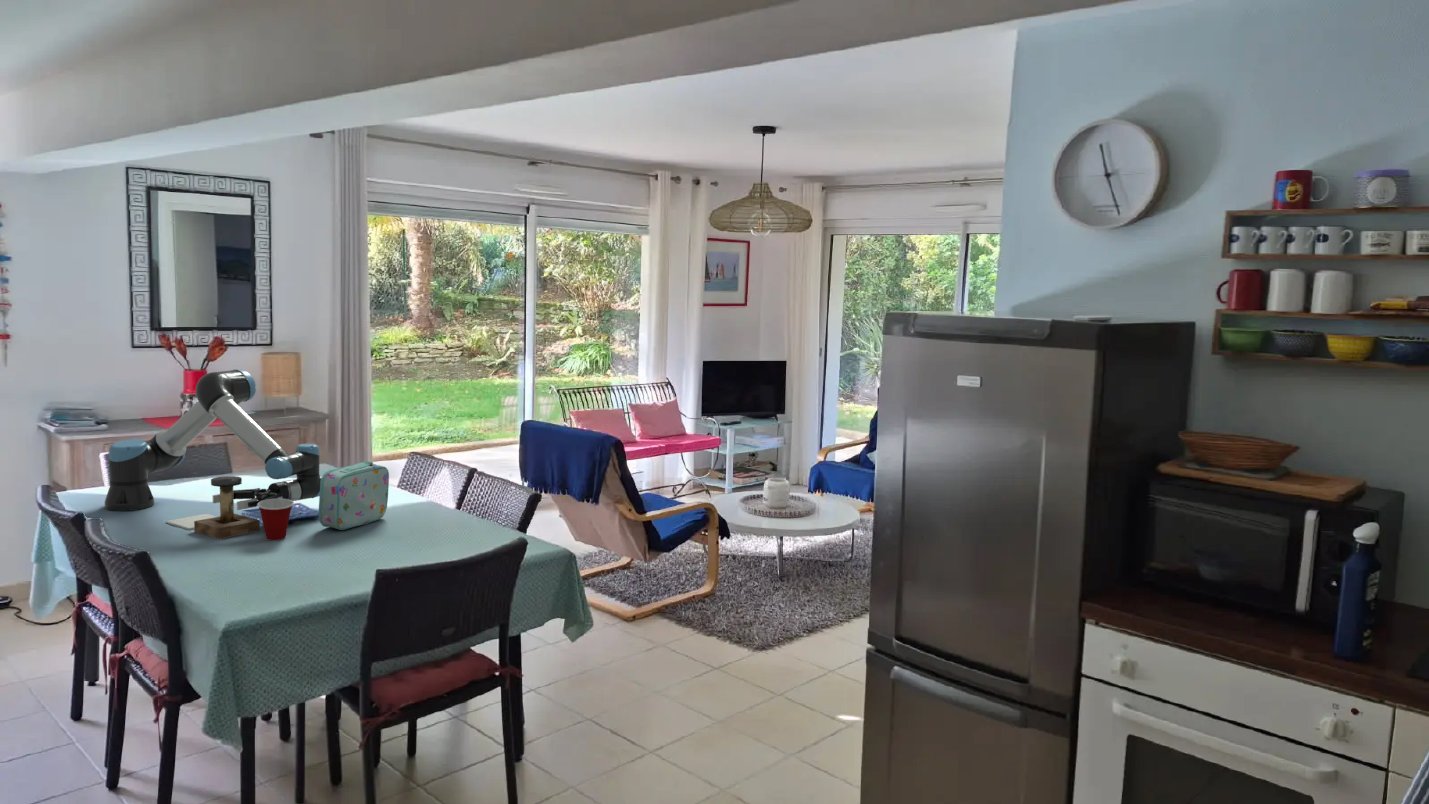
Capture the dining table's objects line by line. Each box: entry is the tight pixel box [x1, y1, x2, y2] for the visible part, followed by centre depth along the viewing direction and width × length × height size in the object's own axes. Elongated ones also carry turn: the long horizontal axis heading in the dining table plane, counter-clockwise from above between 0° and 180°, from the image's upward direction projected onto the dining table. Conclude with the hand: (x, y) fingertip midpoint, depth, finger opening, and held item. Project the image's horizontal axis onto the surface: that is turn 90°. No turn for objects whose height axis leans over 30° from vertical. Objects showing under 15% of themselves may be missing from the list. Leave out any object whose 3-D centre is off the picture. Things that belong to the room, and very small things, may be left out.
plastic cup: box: [257, 499, 295, 541], centre depth 310 cm, size 11×11×12 cm
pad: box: [165, 513, 217, 531], centre depth 325 cm, size 14×14×1 cm
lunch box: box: [317, 460, 390, 531], centre depth 332 cm, size 27×10×21 cm, turn 160°
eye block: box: [193, 513, 261, 540], centre depth 316 cm, size 14×14×4 cm
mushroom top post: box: [210, 475, 243, 524], centre depth 316 cm, size 9×9×18 cm
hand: (225, 502), depth 315 cm, fingers open, 13 cm apart
